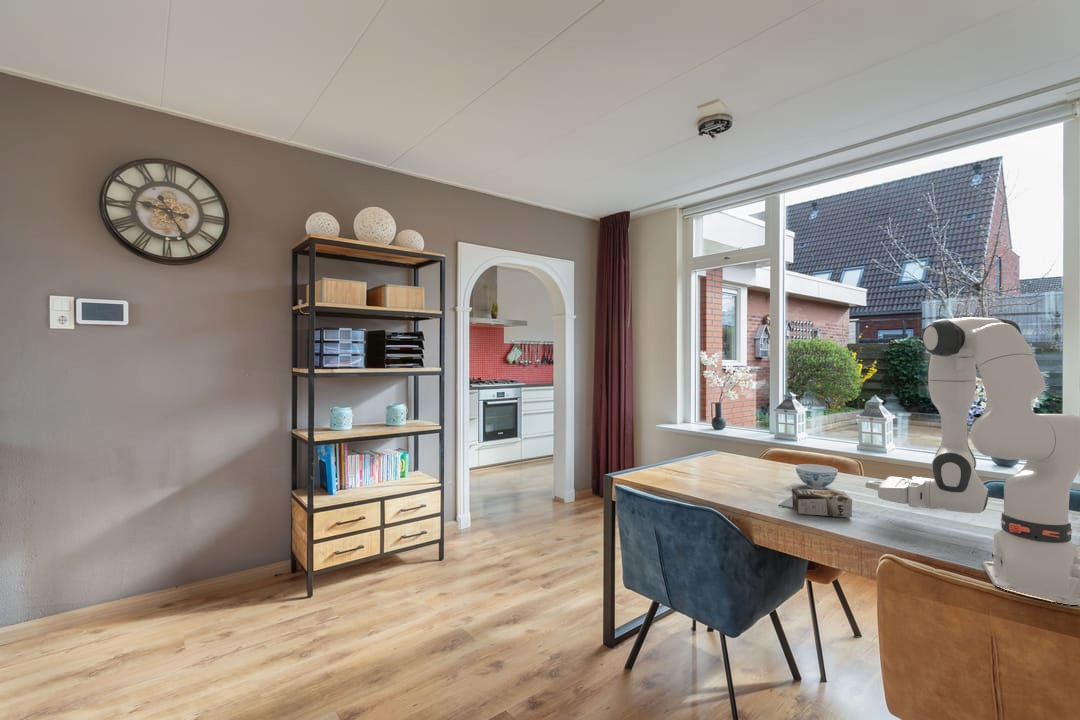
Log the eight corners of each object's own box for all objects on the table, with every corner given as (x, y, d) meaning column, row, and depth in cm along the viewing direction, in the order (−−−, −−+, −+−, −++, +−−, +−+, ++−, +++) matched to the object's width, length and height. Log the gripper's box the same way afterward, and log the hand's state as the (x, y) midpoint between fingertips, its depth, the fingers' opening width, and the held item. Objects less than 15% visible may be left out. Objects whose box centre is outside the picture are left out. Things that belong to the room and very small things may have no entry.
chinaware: (825, 482, 212) (824, 464, 212) (845, 492, 197) (845, 472, 197) (788, 482, 212) (788, 464, 212) (806, 492, 197) (806, 472, 197)
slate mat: (832, 516, 168) (832, 514, 168) (778, 506, 179) (778, 504, 179) (843, 507, 178) (843, 505, 178) (791, 498, 189) (791, 496, 189)
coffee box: (852, 498, 164) (797, 495, 168) (852, 518, 164) (797, 514, 168) (843, 490, 173) (791, 487, 177) (843, 509, 173) (791, 505, 177)
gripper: (922, 475, 165) (872, 469, 174) (914, 487, 150) (859, 480, 159) (922, 494, 165) (872, 487, 174) (914, 508, 150) (860, 500, 159)
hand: (866, 484), depth 166 cm, fingers closed
